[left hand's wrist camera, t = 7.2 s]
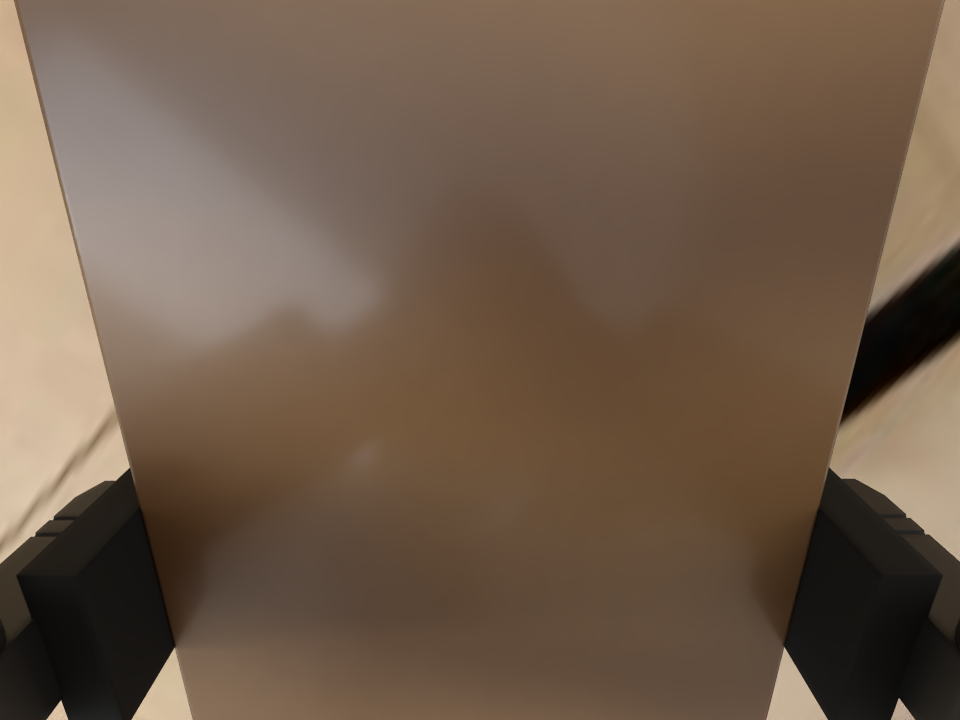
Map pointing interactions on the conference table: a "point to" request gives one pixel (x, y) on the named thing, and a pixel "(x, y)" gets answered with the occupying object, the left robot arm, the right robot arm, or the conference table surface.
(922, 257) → the conference table surface
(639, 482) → the cabinet
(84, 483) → the conference table surface
